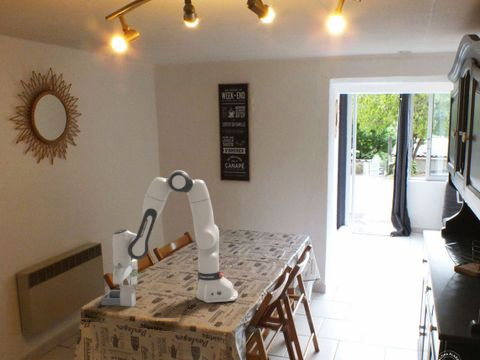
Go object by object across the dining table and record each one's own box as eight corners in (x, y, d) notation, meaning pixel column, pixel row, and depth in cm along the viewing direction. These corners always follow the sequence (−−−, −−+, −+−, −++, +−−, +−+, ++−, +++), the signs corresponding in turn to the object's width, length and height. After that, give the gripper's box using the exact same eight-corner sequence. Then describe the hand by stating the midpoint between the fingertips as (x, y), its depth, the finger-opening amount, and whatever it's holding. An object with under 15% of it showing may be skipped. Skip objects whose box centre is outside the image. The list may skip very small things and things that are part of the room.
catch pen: (127, 296, 227) (127, 290, 227) (120, 305, 216) (120, 298, 215) (109, 296, 228) (109, 290, 227) (101, 305, 216) (101, 298, 216)
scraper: (131, 295, 226) (125, 278, 224) (134, 298, 220) (128, 281, 218) (125, 297, 224) (119, 280, 223) (128, 301, 218) (122, 283, 216)
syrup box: (132, 281, 250) (131, 258, 249) (138, 283, 247) (137, 259, 245) (124, 284, 246) (123, 260, 245) (130, 286, 242) (129, 262, 241)
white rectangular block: (132, 306, 213) (131, 287, 212) (120, 305, 215) (119, 286, 214) (135, 303, 217) (135, 285, 216) (124, 302, 219) (123, 284, 218)
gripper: (121, 267, 209) (122, 294, 210) (134, 255, 229) (135, 280, 230) (108, 267, 209) (110, 294, 210) (122, 255, 229) (123, 280, 231)
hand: (123, 286), depth 221 cm, fingers closed on scraper, 4 cm apart
